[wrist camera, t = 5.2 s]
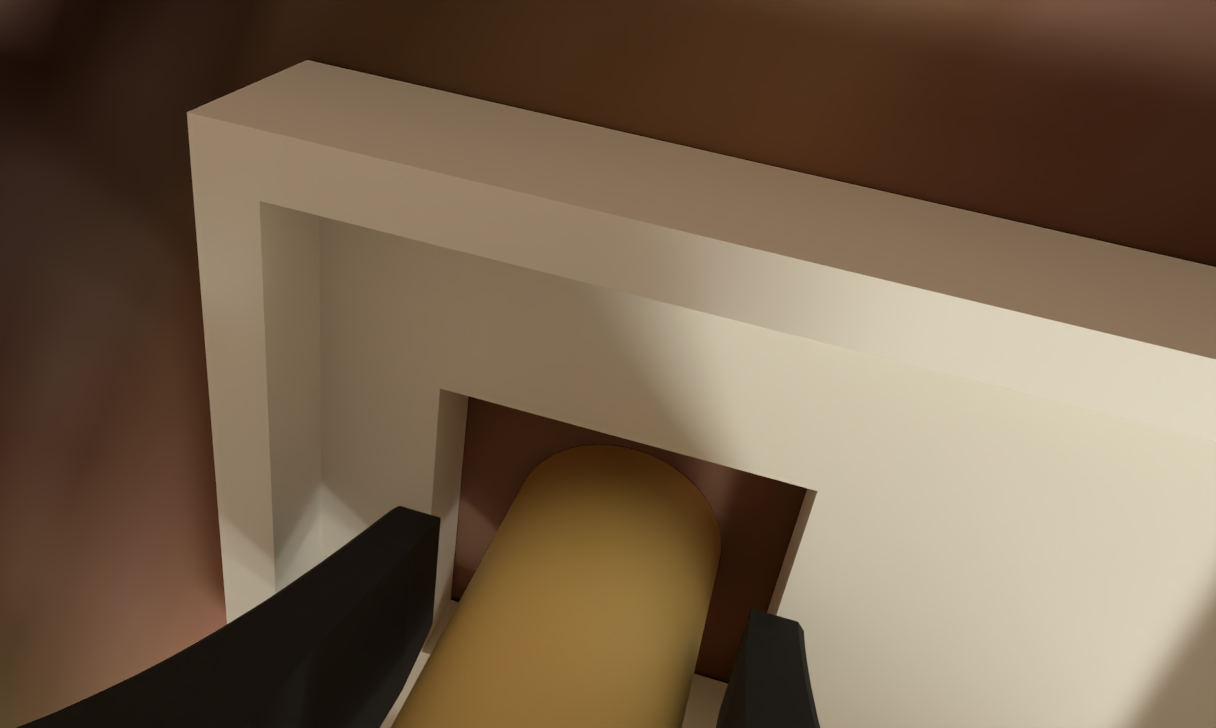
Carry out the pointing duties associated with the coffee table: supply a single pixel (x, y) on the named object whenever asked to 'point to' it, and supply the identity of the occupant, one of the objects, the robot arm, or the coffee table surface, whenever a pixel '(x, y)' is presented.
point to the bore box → (723, 387)
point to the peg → (579, 603)
